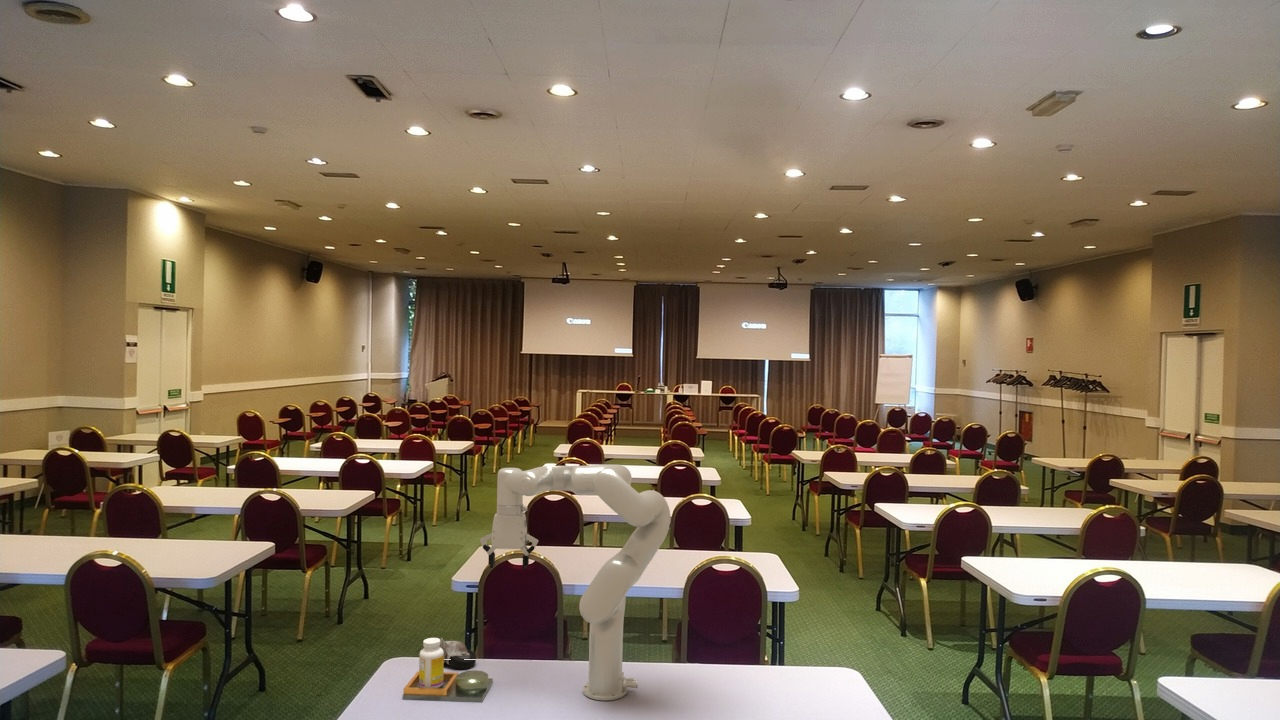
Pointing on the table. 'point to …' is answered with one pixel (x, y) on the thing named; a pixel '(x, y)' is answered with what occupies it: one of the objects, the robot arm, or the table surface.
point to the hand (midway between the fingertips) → (508, 567)
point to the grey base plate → (452, 687)
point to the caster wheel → (457, 654)
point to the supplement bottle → (431, 664)
